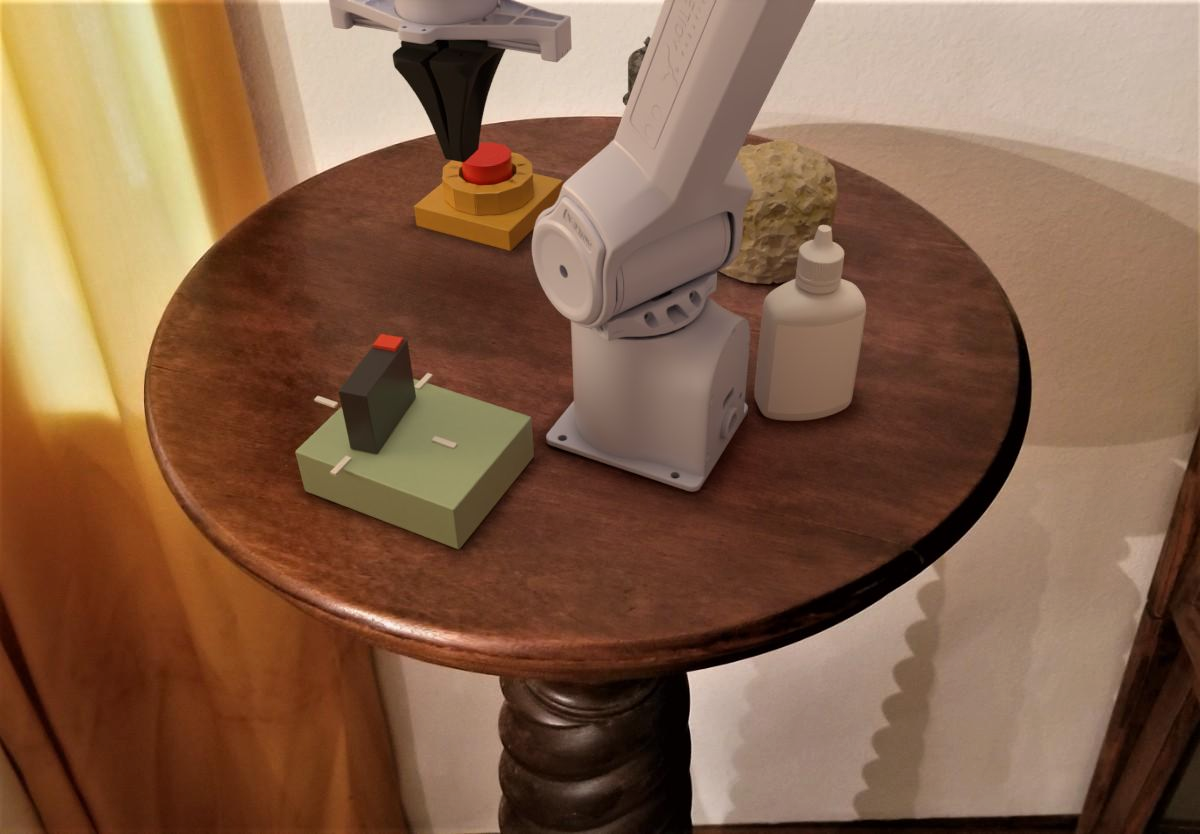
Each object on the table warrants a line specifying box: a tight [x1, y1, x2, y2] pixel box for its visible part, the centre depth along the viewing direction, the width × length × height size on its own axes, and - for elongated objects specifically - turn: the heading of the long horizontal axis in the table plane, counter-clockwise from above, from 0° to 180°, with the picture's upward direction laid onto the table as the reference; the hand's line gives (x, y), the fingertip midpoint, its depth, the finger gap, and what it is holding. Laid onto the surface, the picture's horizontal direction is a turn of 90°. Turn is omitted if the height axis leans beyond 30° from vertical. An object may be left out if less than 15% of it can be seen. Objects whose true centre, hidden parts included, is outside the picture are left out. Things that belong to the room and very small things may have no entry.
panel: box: [295, 372, 535, 550], centre depth 63 cm, size 12×9×3 cm
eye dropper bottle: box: [753, 225, 867, 422], centre depth 64 cm, size 4×6×12 cm
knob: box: [338, 333, 416, 454], centre depth 61 cm, size 5×2×4 cm, turn 163°
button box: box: [413, 151, 564, 252], centre depth 84 cm, size 8×8×4 cm
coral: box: [718, 138, 839, 285], centre depth 78 cm, size 9×9×8 cm
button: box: [462, 142, 513, 185], centre depth 83 cm, size 4×4×2 cm
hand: (461, 153), depth 71 cm, fingers closed
